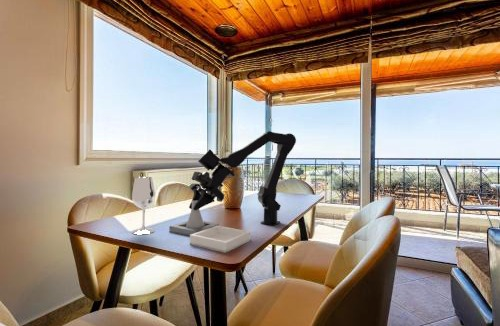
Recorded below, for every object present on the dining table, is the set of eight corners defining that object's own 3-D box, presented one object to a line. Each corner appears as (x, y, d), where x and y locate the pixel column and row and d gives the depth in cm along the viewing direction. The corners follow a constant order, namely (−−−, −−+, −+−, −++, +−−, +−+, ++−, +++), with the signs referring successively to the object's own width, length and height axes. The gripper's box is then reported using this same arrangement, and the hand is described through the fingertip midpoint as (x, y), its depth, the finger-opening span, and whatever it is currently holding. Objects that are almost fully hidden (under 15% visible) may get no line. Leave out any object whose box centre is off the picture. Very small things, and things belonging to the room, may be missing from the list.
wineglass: (146, 227, 101) (147, 176, 101) (159, 231, 97) (159, 177, 97) (127, 232, 95) (127, 177, 95) (139, 236, 91) (140, 178, 90)
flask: (200, 230, 95) (200, 202, 95) (182, 229, 96) (182, 202, 96) (207, 225, 102) (207, 199, 102) (190, 224, 103) (190, 199, 103)
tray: (217, 233, 95) (217, 225, 95) (250, 240, 88) (250, 231, 88) (189, 244, 83) (189, 234, 83) (225, 253, 76) (225, 242, 76)
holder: (193, 224, 108) (193, 219, 108) (218, 229, 101) (219, 223, 101) (169, 231, 97) (169, 226, 97) (195, 237, 90) (195, 231, 90)
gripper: (193, 163, 108) (167, 192, 102) (217, 164, 94) (189, 198, 87) (210, 181, 114) (186, 210, 107) (235, 185, 99) (209, 218, 92)
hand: (191, 208), depth 98 cm, fingers closed on flask, 3 cm apart
